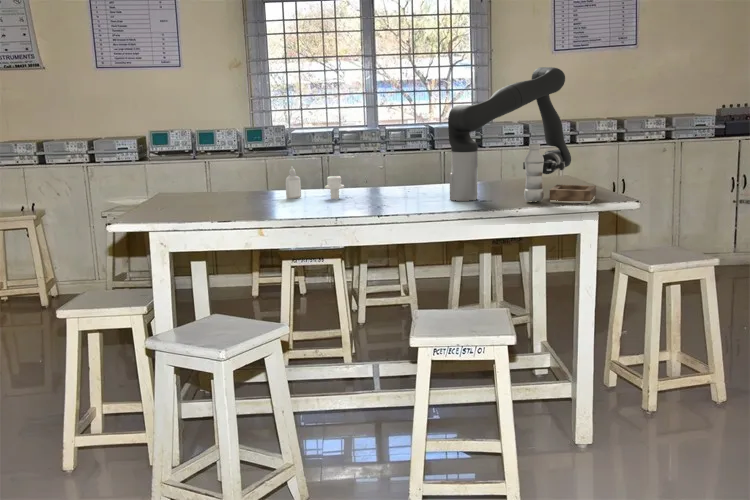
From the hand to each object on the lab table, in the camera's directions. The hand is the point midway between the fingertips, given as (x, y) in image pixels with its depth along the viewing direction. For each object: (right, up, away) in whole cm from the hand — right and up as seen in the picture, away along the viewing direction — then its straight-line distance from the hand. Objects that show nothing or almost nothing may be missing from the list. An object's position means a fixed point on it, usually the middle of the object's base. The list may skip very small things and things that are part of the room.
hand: (540, 167), depth 261 cm
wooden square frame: (+10, -12, -5) cm, 16 cm away
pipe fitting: (-73, -10, +16) cm, 76 cm away
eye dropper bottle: (-89, -10, +20) cm, 92 cm away
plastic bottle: (-4, -13, -7) cm, 15 cm away
